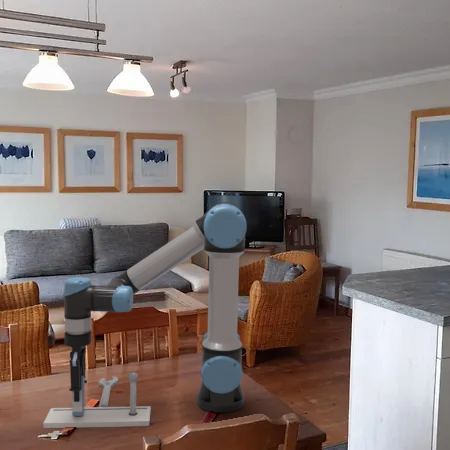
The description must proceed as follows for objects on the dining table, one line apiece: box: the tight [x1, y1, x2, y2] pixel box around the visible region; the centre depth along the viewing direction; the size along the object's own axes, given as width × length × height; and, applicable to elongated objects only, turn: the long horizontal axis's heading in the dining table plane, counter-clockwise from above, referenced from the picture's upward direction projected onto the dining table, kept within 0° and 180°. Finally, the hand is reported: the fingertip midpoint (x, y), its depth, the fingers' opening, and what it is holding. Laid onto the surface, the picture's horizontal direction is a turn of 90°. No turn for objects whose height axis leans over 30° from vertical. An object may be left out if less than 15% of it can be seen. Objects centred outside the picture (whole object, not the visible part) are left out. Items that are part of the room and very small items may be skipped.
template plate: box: [42, 371, 152, 429], centre depth 163 cm, size 30×10×14 cm, turn 95°
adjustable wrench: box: [97, 375, 119, 407], centre depth 182 cm, size 25×6×2 cm, turn 3°
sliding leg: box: [72, 376, 86, 416], centre depth 163 cm, size 3×3×11 cm
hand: (78, 408), depth 163 cm, fingers closed on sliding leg, 3 cm apart
